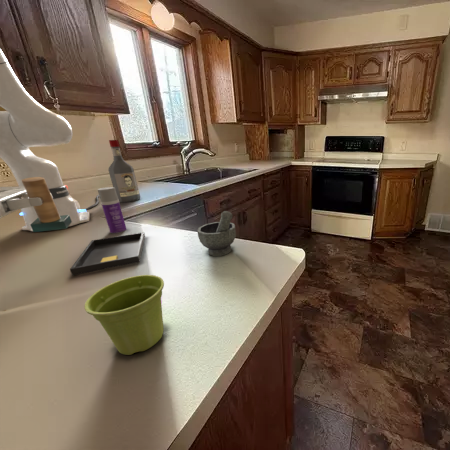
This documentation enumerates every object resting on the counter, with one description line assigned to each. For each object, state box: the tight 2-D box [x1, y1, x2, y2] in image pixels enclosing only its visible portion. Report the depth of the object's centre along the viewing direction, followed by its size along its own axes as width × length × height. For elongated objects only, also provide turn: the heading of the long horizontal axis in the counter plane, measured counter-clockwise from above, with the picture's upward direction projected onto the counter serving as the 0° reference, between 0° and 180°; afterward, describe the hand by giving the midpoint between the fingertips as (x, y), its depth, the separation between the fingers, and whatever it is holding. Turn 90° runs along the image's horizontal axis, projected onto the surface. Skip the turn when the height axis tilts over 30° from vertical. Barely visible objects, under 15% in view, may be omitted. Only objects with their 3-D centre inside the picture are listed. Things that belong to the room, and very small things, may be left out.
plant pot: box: [83, 274, 165, 356], centre depth 36 cm, size 9×9×9 cm
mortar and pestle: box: [197, 210, 237, 257], centre depth 65 cm, size 11×9×12 cm
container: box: [97, 186, 127, 234], centre depth 81 cm, size 5×5×15 cm
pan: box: [69, 231, 146, 276], centre depth 66 cm, size 19×13×2 cm
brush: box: [22, 177, 72, 233], centre depth 57 cm, size 4×6×12 cm, turn 115°
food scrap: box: [101, 255, 118, 262], centre depth 61 cm, size 3×3×1 cm
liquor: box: [108, 139, 141, 203], centre depth 124 cm, size 9×9×30 cm
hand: (46, 198), depth 57 cm, fingers closed on brush, 4 cm apart
